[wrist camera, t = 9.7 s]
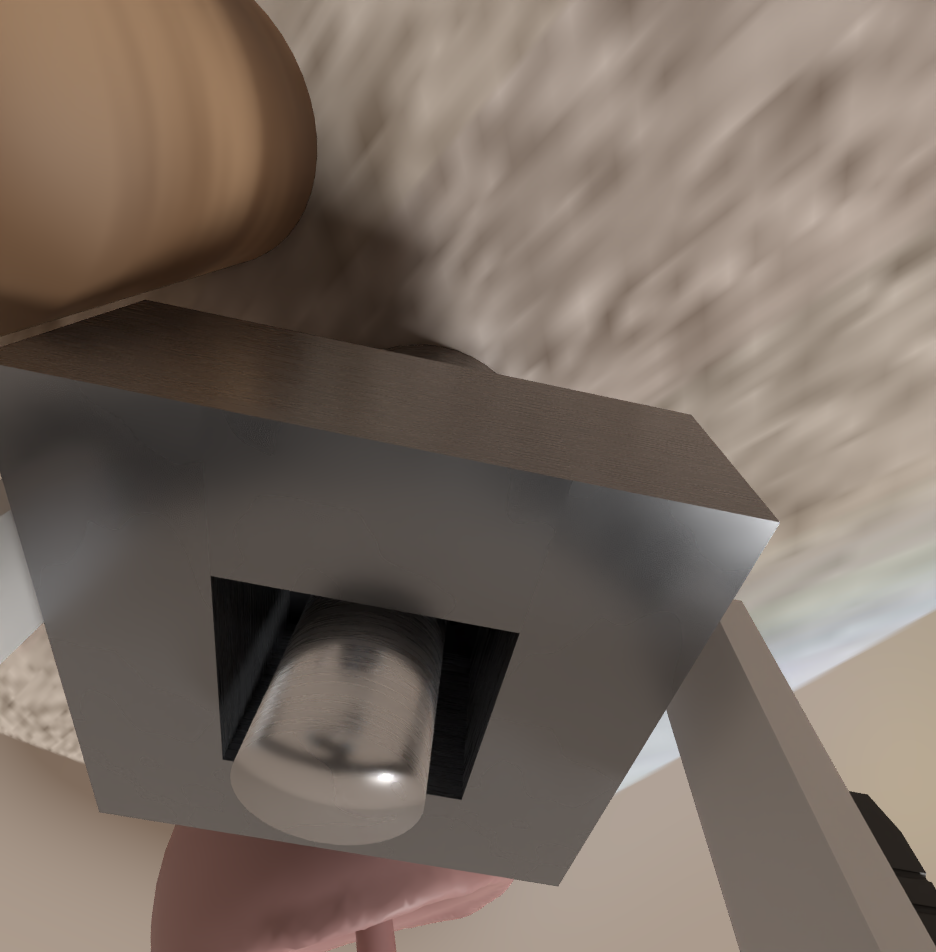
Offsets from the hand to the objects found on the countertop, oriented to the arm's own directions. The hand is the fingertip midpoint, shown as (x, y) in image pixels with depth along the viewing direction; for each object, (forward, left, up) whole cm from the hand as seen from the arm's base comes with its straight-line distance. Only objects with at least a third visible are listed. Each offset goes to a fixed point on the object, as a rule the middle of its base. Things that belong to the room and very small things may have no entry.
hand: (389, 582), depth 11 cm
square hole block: (0, 0, -1) cm, 1 cm away
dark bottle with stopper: (0, 0, -7) cm, 7 cm away
